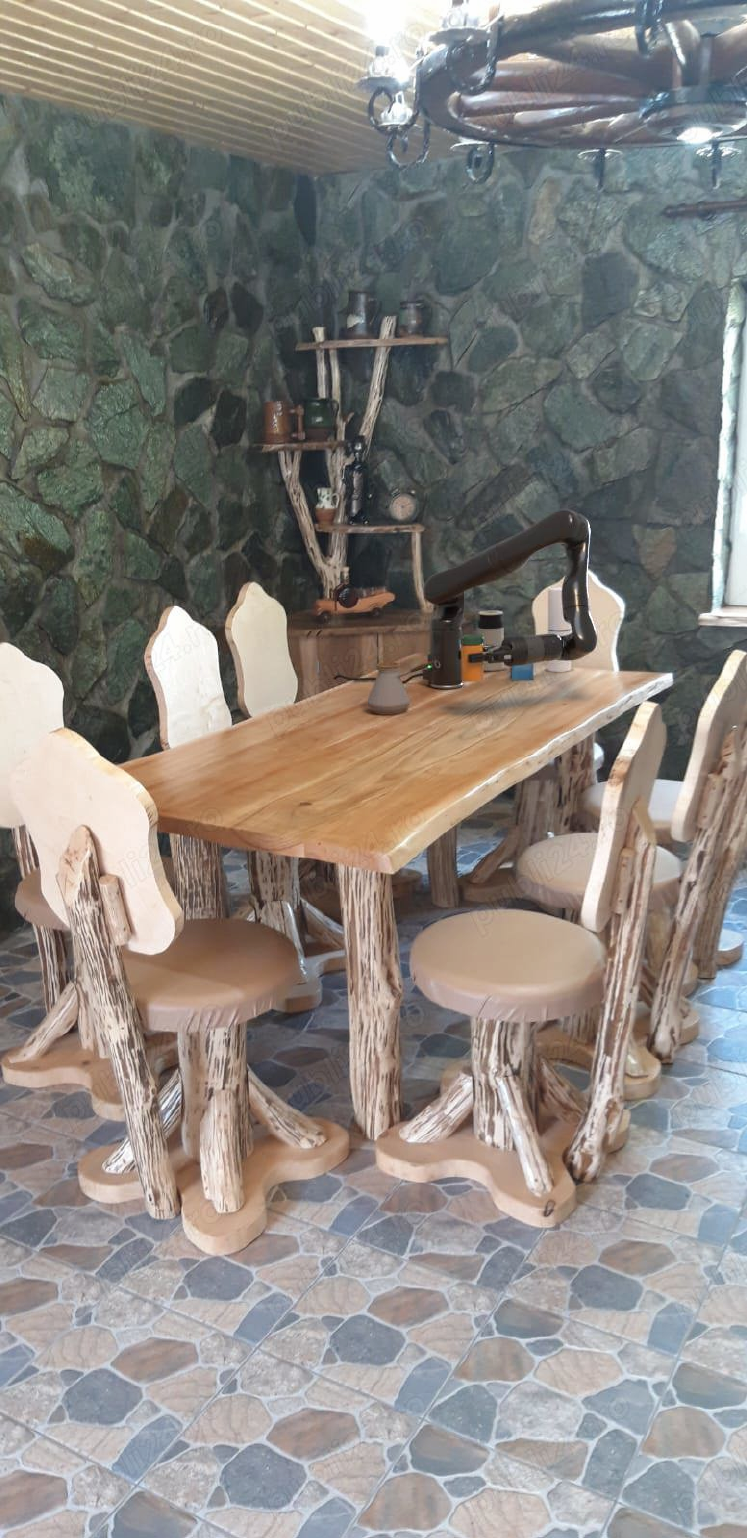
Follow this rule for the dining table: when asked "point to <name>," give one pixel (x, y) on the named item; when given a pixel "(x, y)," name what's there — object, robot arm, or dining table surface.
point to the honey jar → (471, 669)
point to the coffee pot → (391, 689)
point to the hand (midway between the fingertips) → (463, 656)
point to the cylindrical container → (557, 626)
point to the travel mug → (491, 634)
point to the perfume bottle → (522, 672)
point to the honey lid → (471, 639)
